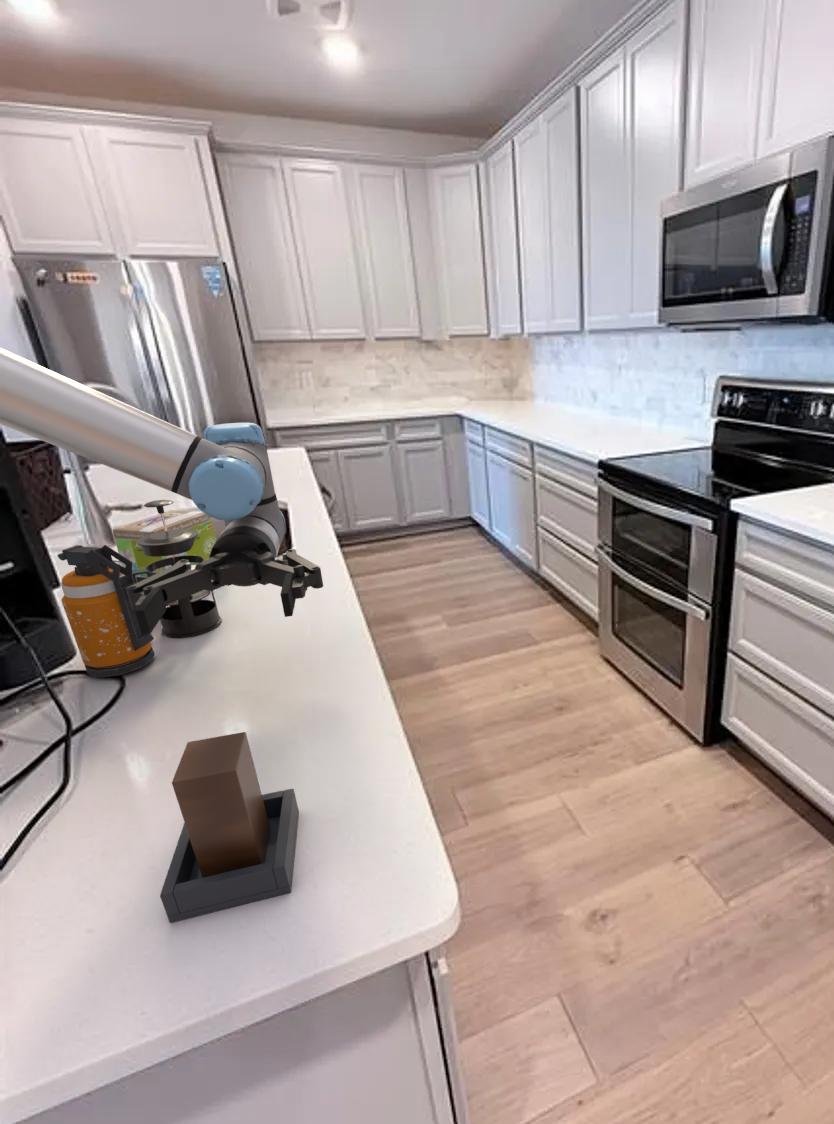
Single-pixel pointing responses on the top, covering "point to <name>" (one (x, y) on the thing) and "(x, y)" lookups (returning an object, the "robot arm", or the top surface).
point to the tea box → (174, 521)
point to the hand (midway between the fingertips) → (216, 613)
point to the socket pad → (213, 893)
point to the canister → (103, 612)
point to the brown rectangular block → (222, 804)
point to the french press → (187, 612)
